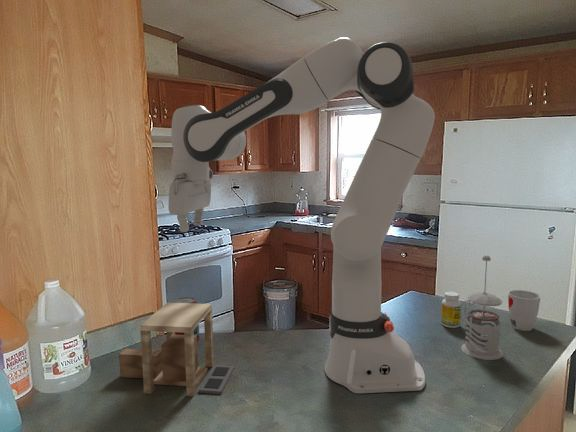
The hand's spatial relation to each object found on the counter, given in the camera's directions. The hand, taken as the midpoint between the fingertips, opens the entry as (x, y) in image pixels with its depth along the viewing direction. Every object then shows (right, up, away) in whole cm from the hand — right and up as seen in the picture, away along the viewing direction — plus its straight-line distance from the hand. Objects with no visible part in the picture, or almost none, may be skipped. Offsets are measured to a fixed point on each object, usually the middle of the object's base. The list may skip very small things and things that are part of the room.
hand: (191, 228), depth 104 cm
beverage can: (-3, -32, +9) cm, 33 cm away
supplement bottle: (+73, -29, +19) cm, 81 cm away
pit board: (+8, -34, -11) cm, 36 cm away
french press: (+74, -32, +3) cm, 80 cm away
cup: (+93, -30, +17) cm, 99 cm away
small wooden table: (0, -34, -10) cm, 35 cm away
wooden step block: (-5, -34, -9) cm, 35 cm away
